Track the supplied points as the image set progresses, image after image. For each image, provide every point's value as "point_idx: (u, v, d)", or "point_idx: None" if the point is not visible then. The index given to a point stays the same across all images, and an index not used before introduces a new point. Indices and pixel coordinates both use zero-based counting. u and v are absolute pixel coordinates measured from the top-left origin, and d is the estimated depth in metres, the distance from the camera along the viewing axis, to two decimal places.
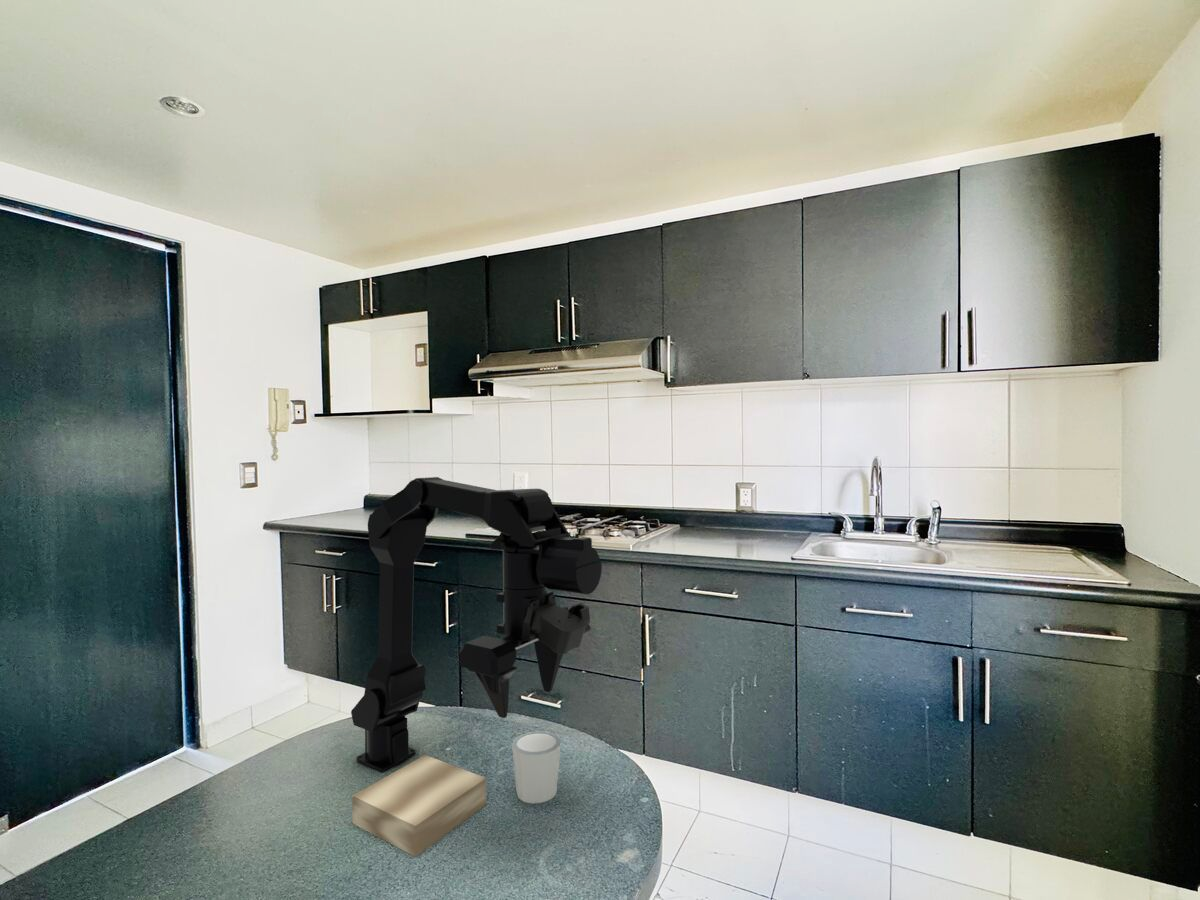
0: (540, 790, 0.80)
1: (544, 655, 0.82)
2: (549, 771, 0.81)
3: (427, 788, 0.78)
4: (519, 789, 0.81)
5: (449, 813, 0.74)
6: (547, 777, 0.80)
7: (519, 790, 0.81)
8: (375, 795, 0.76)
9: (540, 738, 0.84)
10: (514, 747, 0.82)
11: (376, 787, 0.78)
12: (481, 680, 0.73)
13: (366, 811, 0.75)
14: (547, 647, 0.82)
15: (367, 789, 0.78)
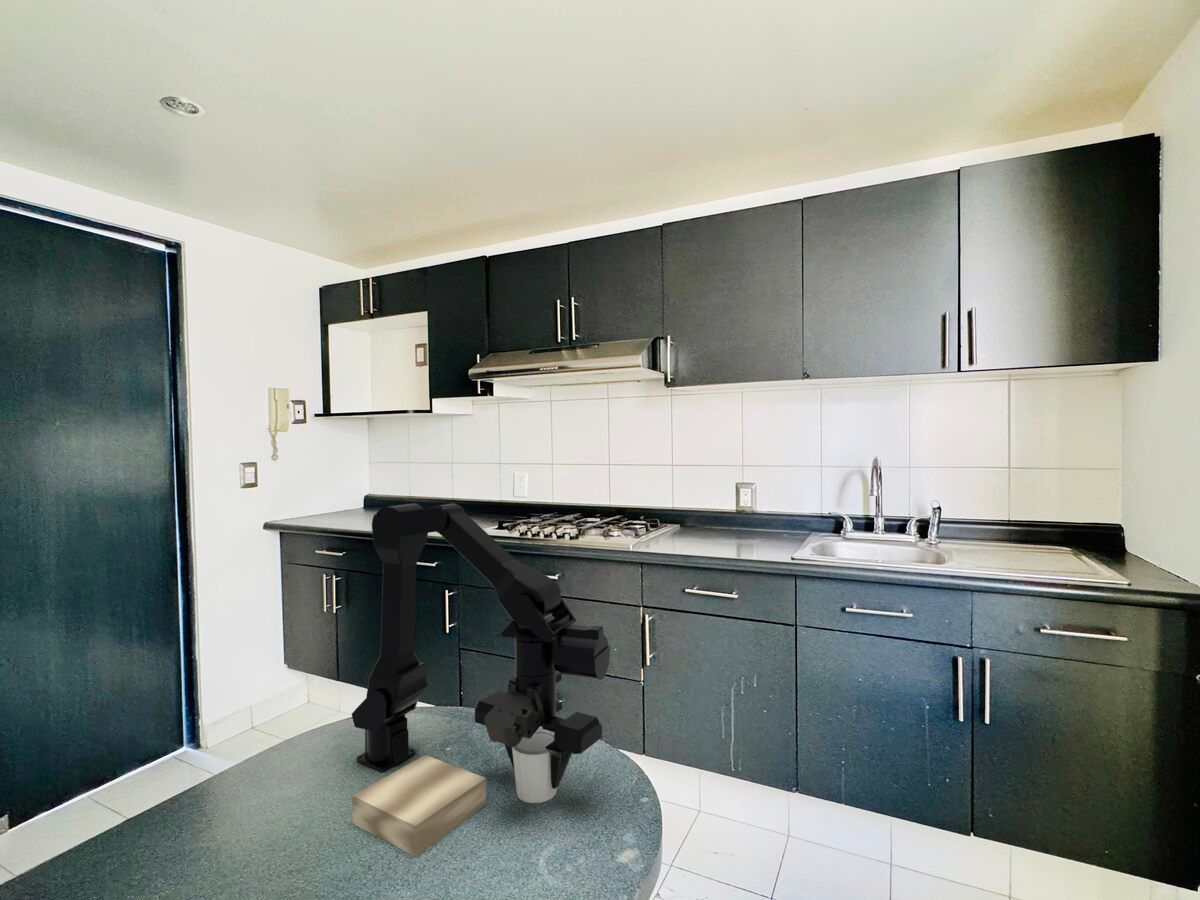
0: (540, 790, 0.80)
1: None
2: (549, 771, 0.81)
3: (427, 788, 0.78)
4: (519, 789, 0.81)
5: (449, 813, 0.74)
6: (547, 777, 0.80)
7: (519, 790, 0.81)
8: (375, 795, 0.76)
9: (540, 738, 0.84)
10: (514, 747, 0.82)
11: (376, 787, 0.78)
12: None
13: (366, 811, 0.75)
14: None
15: (367, 789, 0.78)
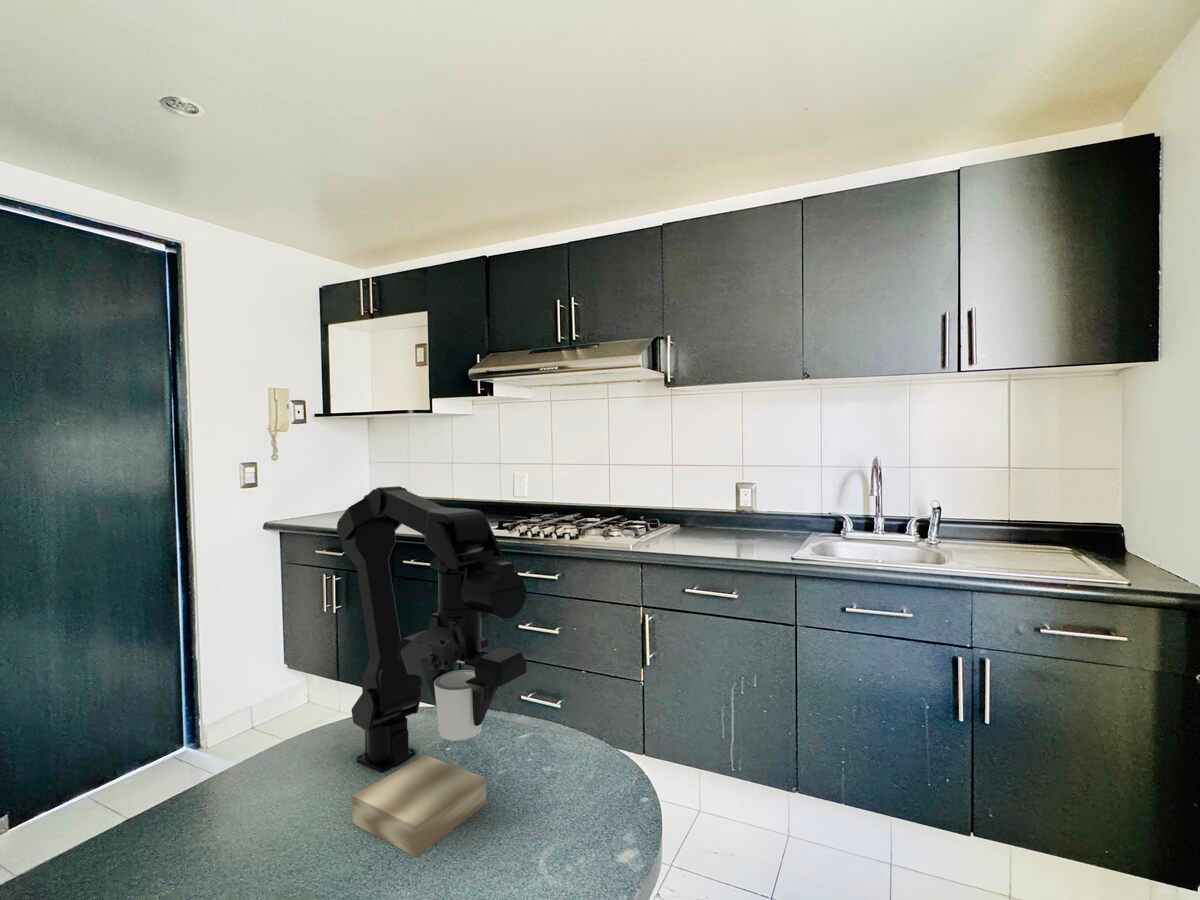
0: (461, 727, 0.77)
1: None
2: (472, 707, 0.78)
3: (427, 788, 0.78)
4: (440, 726, 0.78)
5: (449, 813, 0.74)
6: (469, 713, 0.77)
7: (440, 727, 0.78)
8: (375, 795, 0.76)
9: (465, 676, 0.81)
10: (436, 683, 0.78)
11: (375, 787, 0.78)
12: None
13: (366, 811, 0.75)
14: None
15: (367, 789, 0.78)
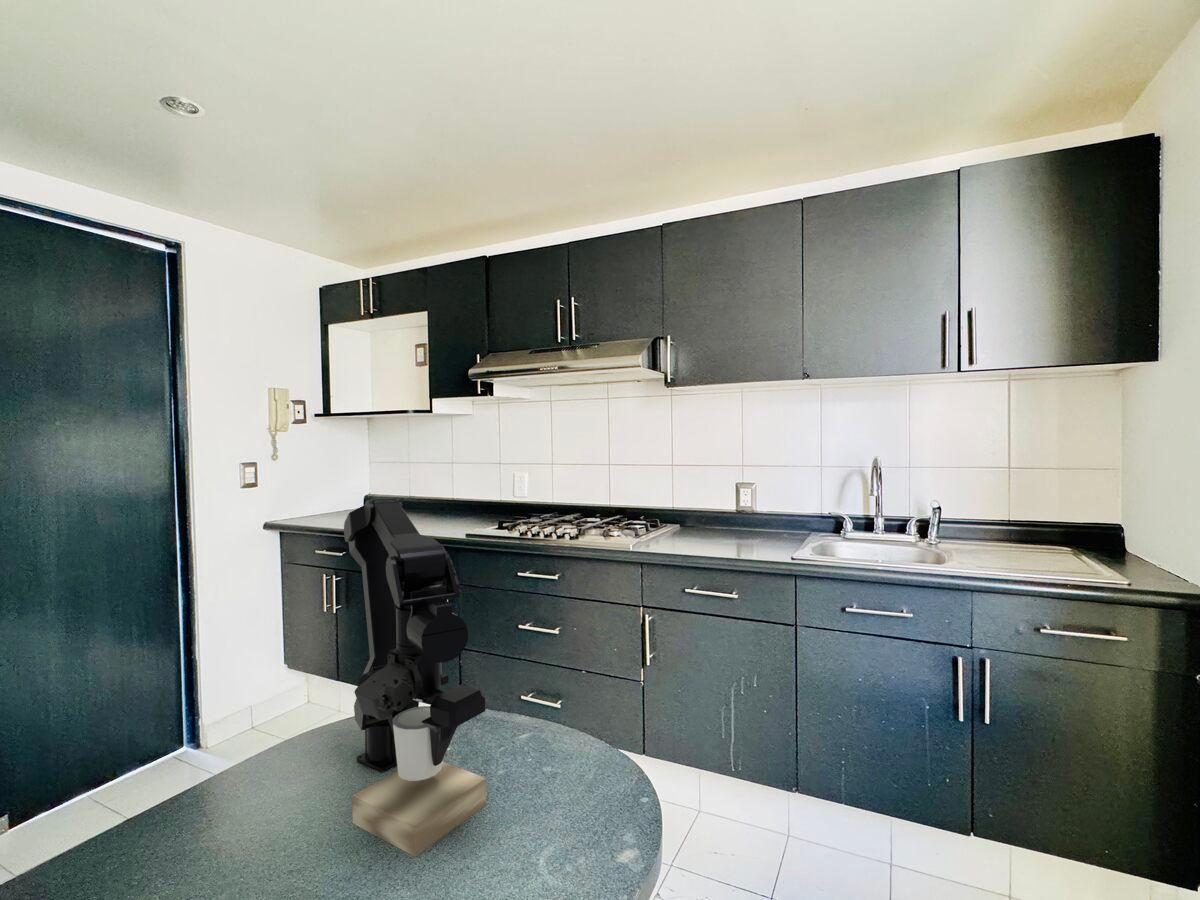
0: (419, 767, 0.75)
1: None
2: (429, 747, 0.76)
3: (427, 788, 0.78)
4: (398, 766, 0.76)
5: (449, 813, 0.74)
6: (427, 753, 0.76)
7: (398, 767, 0.76)
8: (375, 795, 0.76)
9: (425, 713, 0.79)
10: (394, 721, 0.77)
11: (376, 787, 0.78)
12: None
13: (366, 811, 0.75)
14: None
15: (367, 789, 0.78)
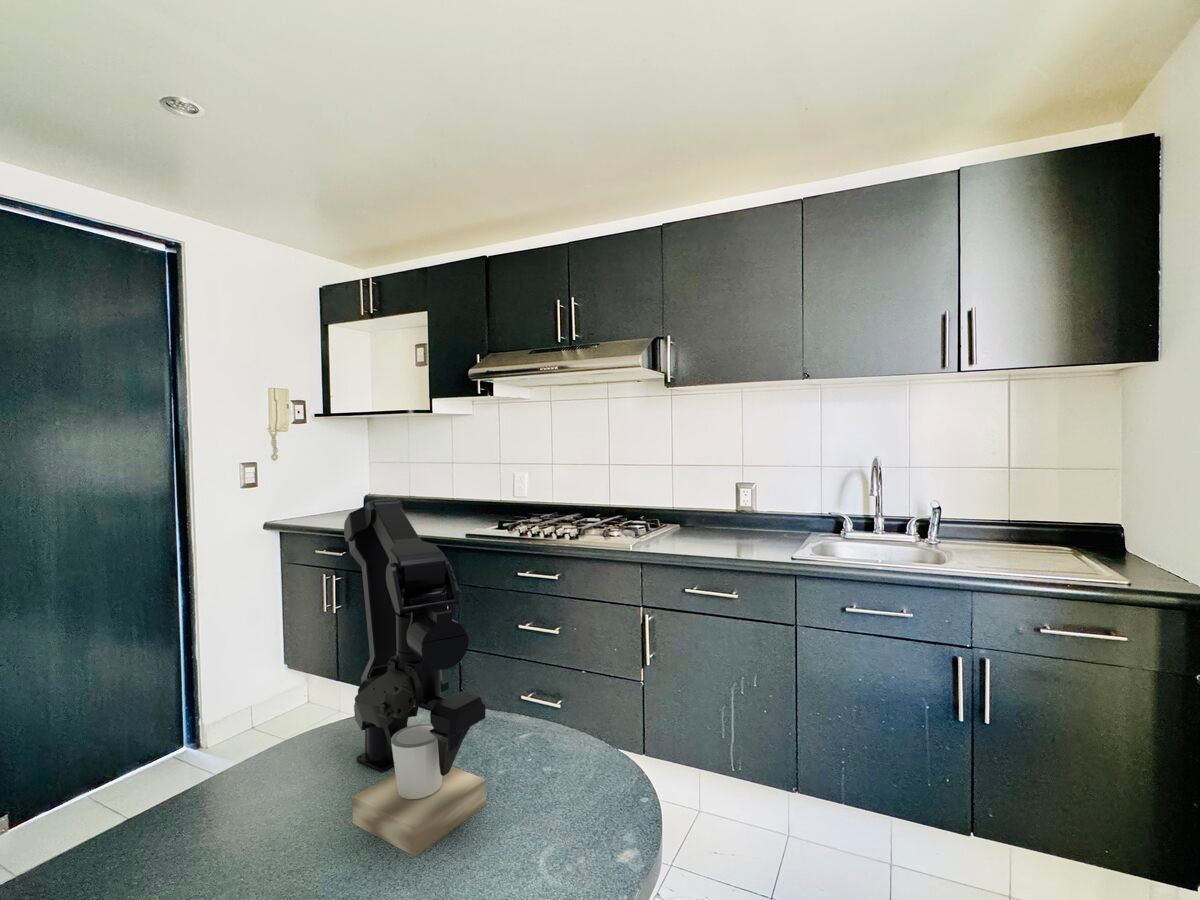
0: (418, 785, 0.75)
1: None
2: (428, 764, 0.76)
3: None
4: (398, 785, 0.76)
5: (449, 815, 0.74)
6: (426, 771, 0.76)
7: (398, 786, 0.76)
8: (375, 796, 0.76)
9: (423, 730, 0.79)
10: (392, 740, 0.77)
11: (376, 789, 0.78)
12: None
13: (366, 812, 0.75)
14: None
15: (367, 790, 0.78)
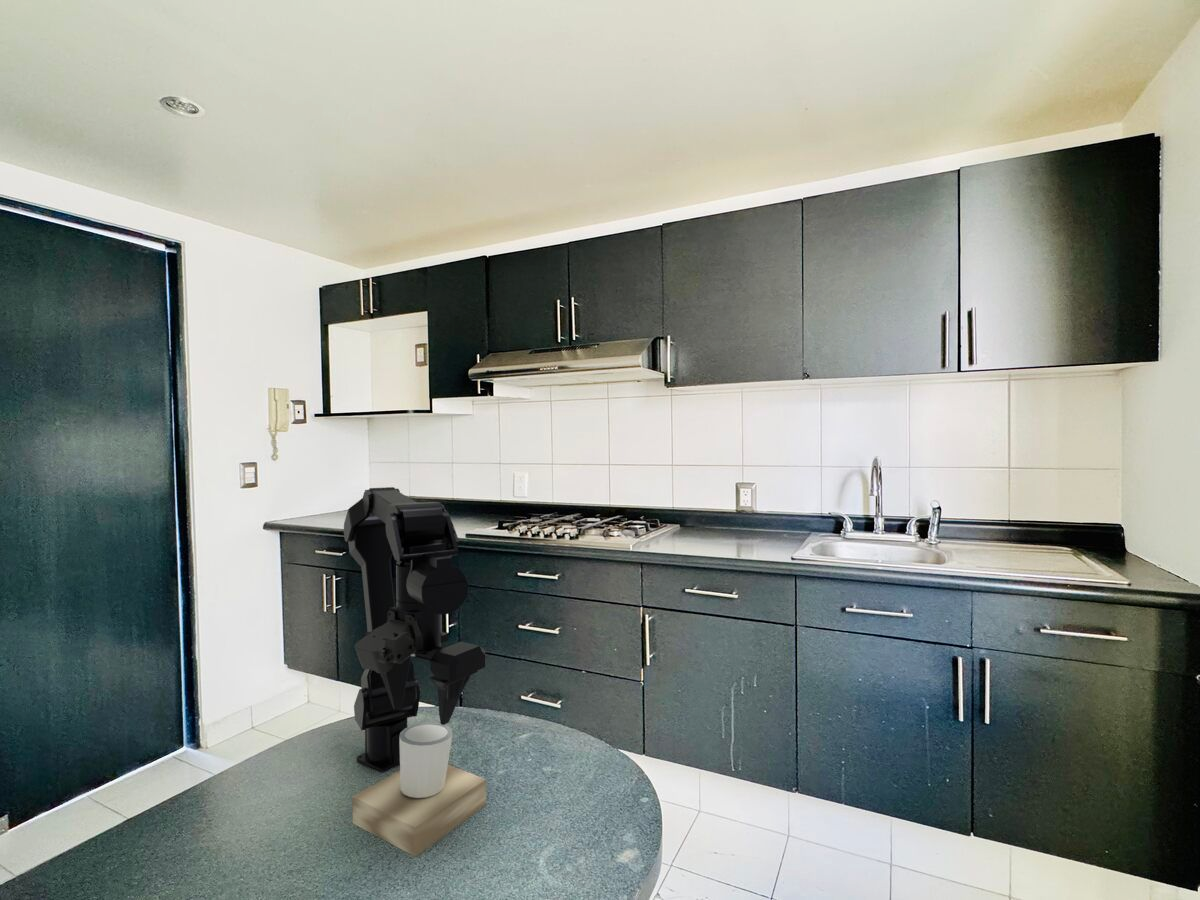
0: (429, 783, 0.76)
1: None
2: (440, 762, 0.76)
3: None
4: (405, 784, 0.76)
5: (449, 814, 0.74)
6: (437, 769, 0.76)
7: (405, 785, 0.76)
8: (375, 796, 0.76)
9: (430, 729, 0.80)
10: (402, 739, 0.76)
11: (376, 788, 0.78)
12: None
13: (366, 812, 0.75)
14: None
15: (367, 790, 0.78)
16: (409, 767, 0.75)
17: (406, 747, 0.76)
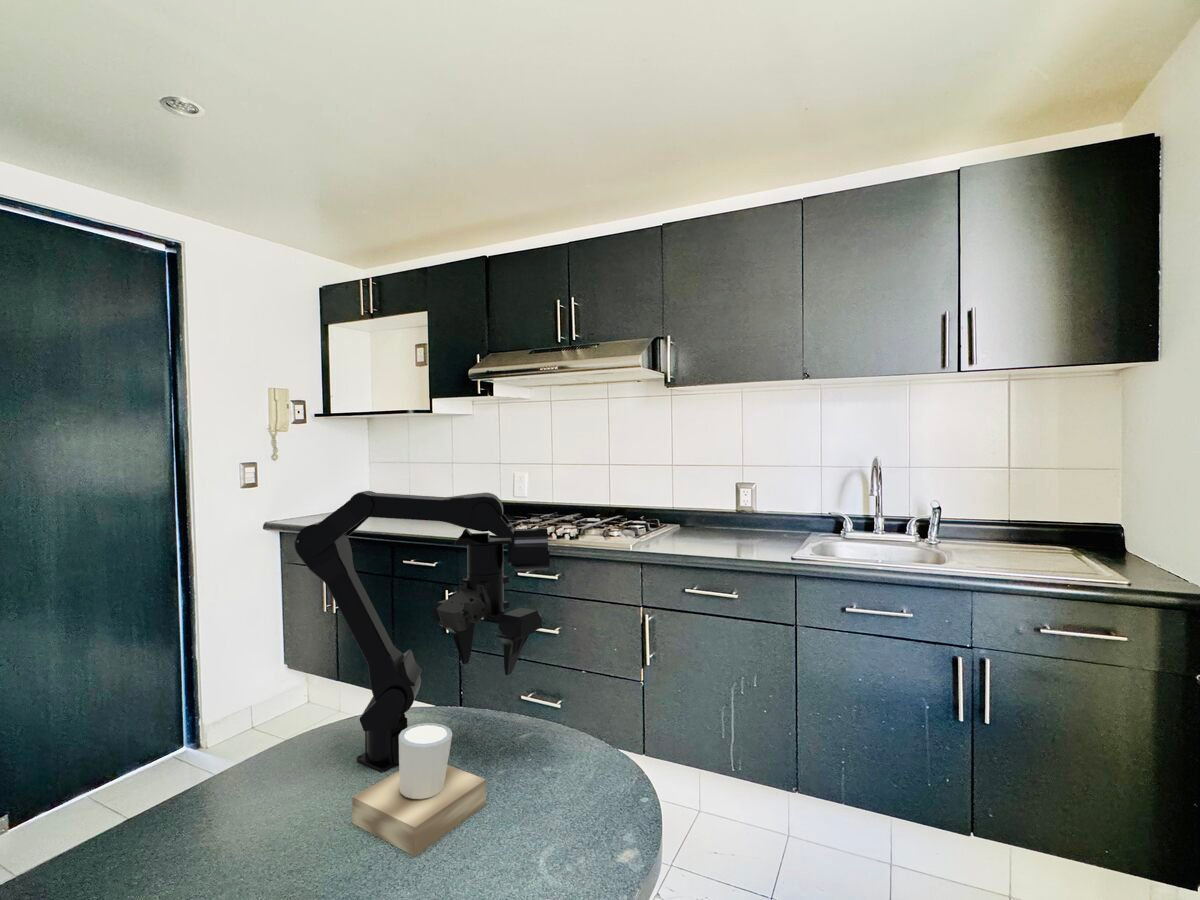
0: (423, 785, 0.75)
1: None
2: (435, 765, 0.76)
3: None
4: (401, 783, 0.76)
5: (449, 814, 0.74)
6: (432, 771, 0.76)
7: (401, 784, 0.76)
8: (375, 796, 0.76)
9: (431, 730, 0.79)
10: (400, 738, 0.77)
11: (375, 789, 0.78)
12: None
13: (366, 812, 0.75)
14: None
15: (367, 790, 0.78)
16: (405, 767, 0.75)
17: (402, 747, 0.76)
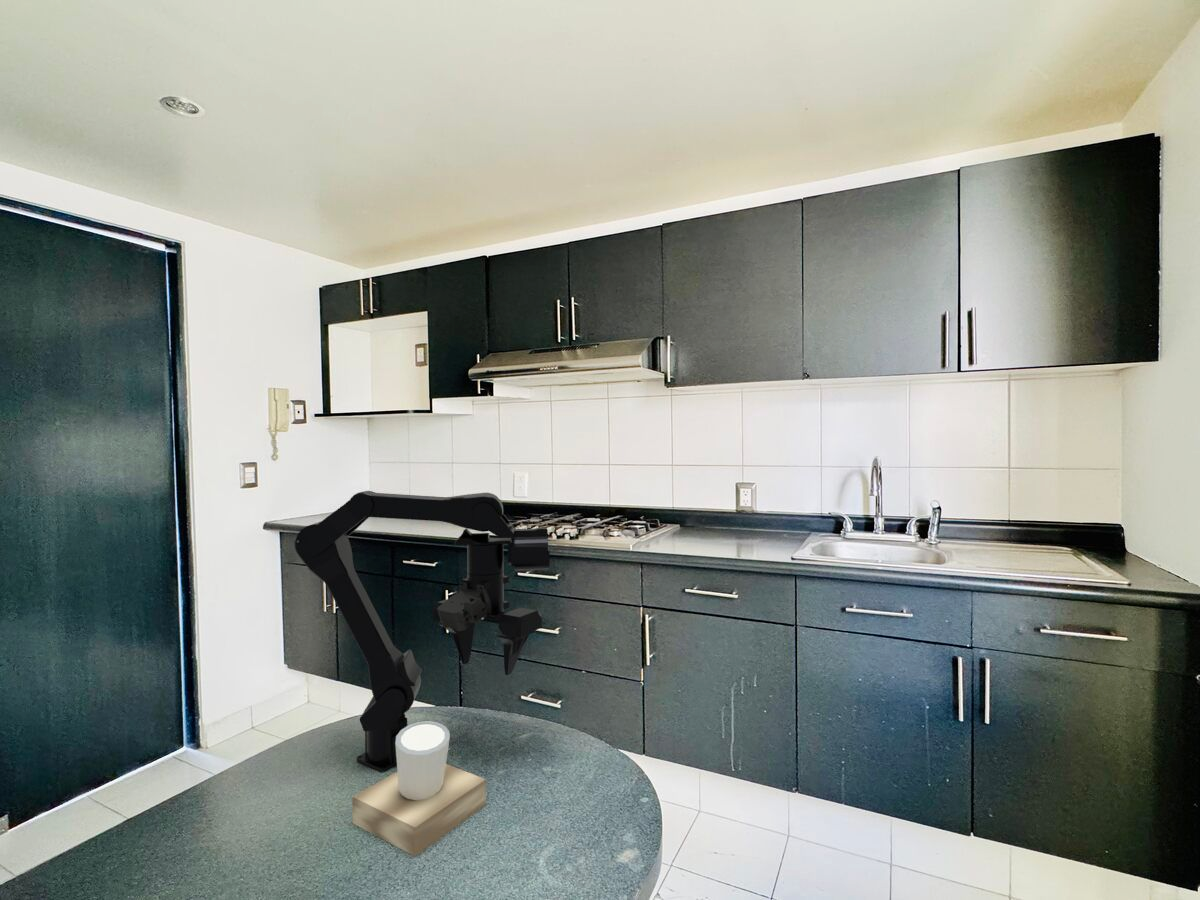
0: (418, 788, 0.75)
1: None
2: (429, 771, 0.75)
3: None
4: (399, 782, 0.76)
5: (449, 814, 0.74)
6: (426, 777, 0.75)
7: (399, 782, 0.76)
8: (375, 796, 0.76)
9: (430, 732, 0.78)
10: (397, 740, 0.76)
11: (376, 788, 0.78)
12: None
13: (366, 812, 0.75)
14: None
15: (367, 790, 0.78)
16: (400, 769, 0.75)
17: (397, 750, 0.75)
